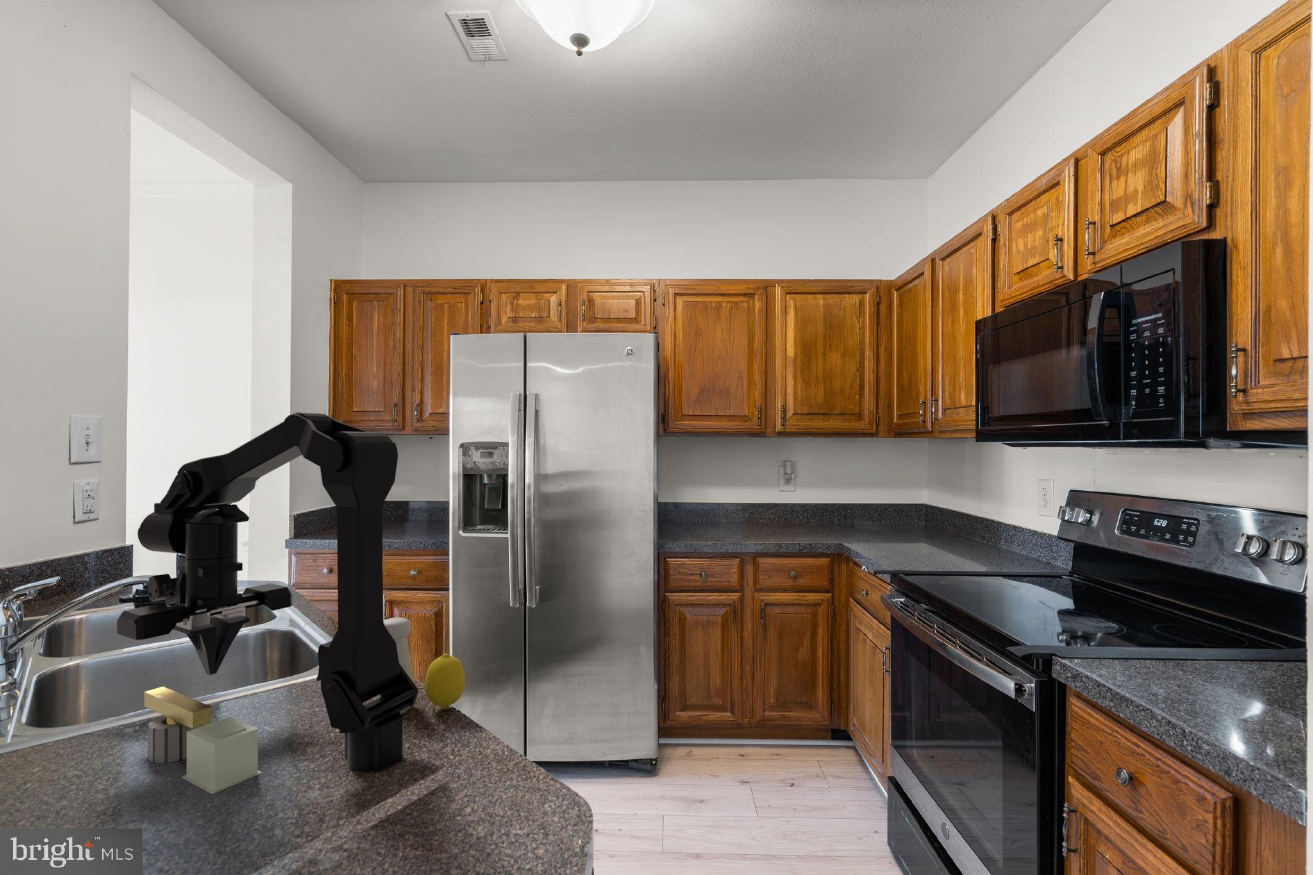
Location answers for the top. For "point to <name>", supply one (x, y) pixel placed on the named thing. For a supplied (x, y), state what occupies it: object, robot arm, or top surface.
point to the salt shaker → (401, 645)
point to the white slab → (172, 745)
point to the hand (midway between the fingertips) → (211, 673)
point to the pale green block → (222, 753)
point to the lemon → (445, 681)
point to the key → (178, 707)
